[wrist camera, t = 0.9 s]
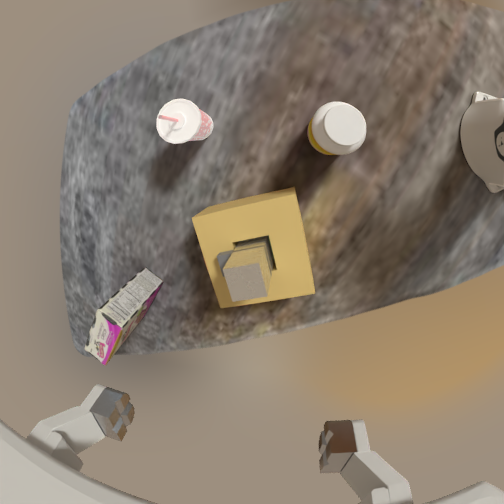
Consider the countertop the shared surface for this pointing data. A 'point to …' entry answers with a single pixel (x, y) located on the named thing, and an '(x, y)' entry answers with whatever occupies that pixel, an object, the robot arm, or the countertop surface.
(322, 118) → the supplement bottle
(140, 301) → the candy bar box
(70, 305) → the countertop surface
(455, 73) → the countertop surface
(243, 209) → the housing
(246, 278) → the column
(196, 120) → the beverage cup
